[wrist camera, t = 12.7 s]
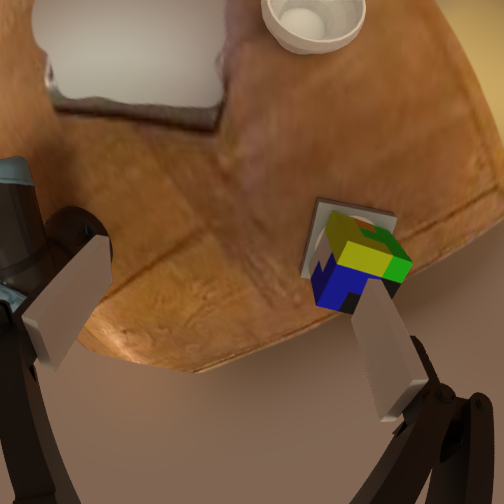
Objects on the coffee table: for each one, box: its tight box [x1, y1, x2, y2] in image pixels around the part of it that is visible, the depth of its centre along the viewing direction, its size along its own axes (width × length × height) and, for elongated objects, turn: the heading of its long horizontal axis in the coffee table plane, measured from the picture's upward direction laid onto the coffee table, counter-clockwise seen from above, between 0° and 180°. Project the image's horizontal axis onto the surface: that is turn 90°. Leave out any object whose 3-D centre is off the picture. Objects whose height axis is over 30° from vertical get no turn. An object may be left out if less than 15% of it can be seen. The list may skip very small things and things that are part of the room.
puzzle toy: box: [308, 210, 413, 315], centre depth 43 cm, size 10×10×10 cm
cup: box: [261, 0, 366, 54], centre depth 28 cm, size 11×11×15 cm
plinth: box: [300, 198, 397, 279], centre depth 48 cm, size 13×13×2 cm
